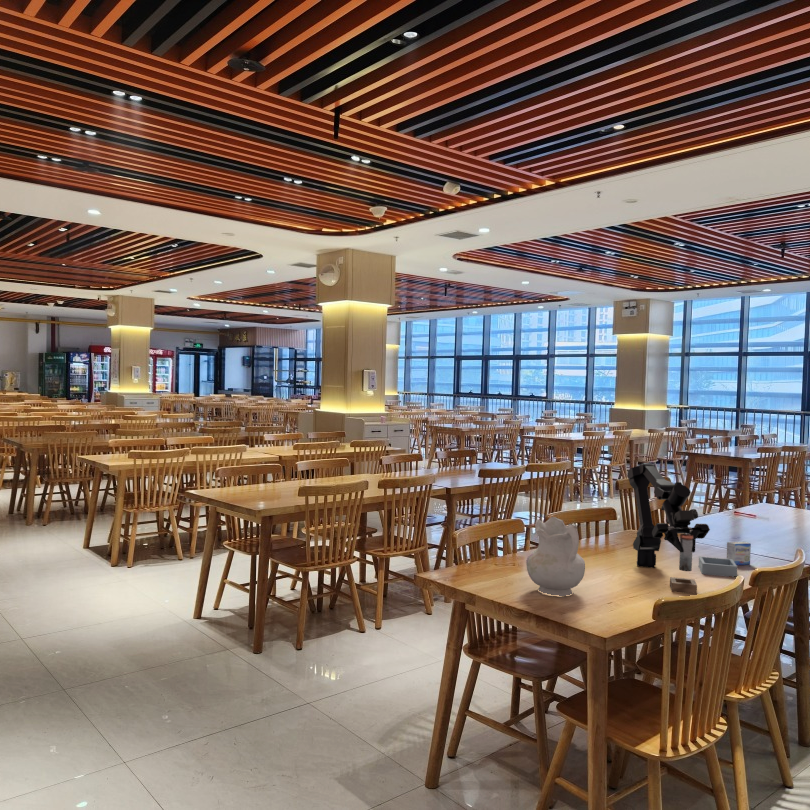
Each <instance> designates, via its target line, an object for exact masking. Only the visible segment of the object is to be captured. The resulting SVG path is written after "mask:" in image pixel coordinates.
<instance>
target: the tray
mask: <svg viewBox="0 0 810 810" xmlns="http://www.w3.org/2000/svg"><path fill="white" fill-rule="evenodd" d="M697 565H698V569H699V571H700V572H701V574H702V575H709V576H718V577H720V576H721V577H729V576H732V578H735V577H734V576H737V577H738V565H736V564H735V563H734V561H733V560H732V559H727V558H721V557H711V556H700V555H699V556H698V564H697Z"/></svg>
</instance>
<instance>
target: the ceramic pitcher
mask: <svg viewBox="0 0 810 810" xmlns="http://www.w3.org/2000/svg"><path fill="white" fill-rule="evenodd" d="M564 522H565V521H564V519H560V518H557V517H556V516H551V517H548V519H547V520H546V521H545V522H543V521H542V520H540V519H538V518H537V519H536V521H535V524H534V525H535V532H536V534H537V537H538V546H537V548H536V549H534V551H532V552H531V553H530V554H528V556H527V558H526V559H525V560H526V561H525V563H526V571H527V575H528V576H529V578H530V579H531V581H532V582H533V583H534V584H535V585H537V586H539V587H538V589H537V591H538V590H539V591H541V592H543V593H547V594H551V595H559V596H566V595H570V594H572V592H573V591H572V589H574V588H575V587H577V586H578V585H579V584H580V583H581V582H582V580H583V579H584V576H585V574H586V562H585V560H584V558H583V557H582V556H581V555H580V554H579V553H578V551H579V544H580V543H579V542H580V538H579V533H578V527H577V525H575V524H574V523H572V524H571V523H569V524H568V525H566V524H565V523H564Z"/></svg>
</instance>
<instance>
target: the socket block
mask: <svg viewBox="0 0 810 810" xmlns="http://www.w3.org/2000/svg"><path fill="white" fill-rule="evenodd" d="M669 588H670V590H671V592H672V593H679V594H681V593H682V594H691V595H698V584H697V582H696V580H695V579H694V578H684V577H683V578H682V577H672V576H670V577H669Z"/></svg>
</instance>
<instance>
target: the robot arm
mask: <svg viewBox="0 0 810 810" xmlns="http://www.w3.org/2000/svg"><path fill="white" fill-rule="evenodd" d="M626 477H627V478H628V481H629V485H630V486H631V488H632V489H633V490H634V494H635V500H636V507H637V513H638V521H639V527H638V530H637V531H636V537H635V539H634V540H633V543H632V548H633V550H635V551H636V552H637V555H636V557H637V559H636V567H638V568H639V567H640V568H641V567H643V568H651V569H655V567H656V565H657V554H656V553H655V552H659V551H660V549H661V544H662V543H661V542H662V538H663V539H664V540H665V541H667V542H669V543H670V544H671V545H673V547H674V548H676V550H678V551H679V553H680V552H683V549H682V546H681V543H680V537H679V535H678V534H689V535H693V548H692V554H693V553H695V552H696V540H697V539H699V540H700V539H704V538H706V537H707V534H708V533H709V532H710V530H711V529H710V527H709V525H708V524H707V523H695V525H694V526H693V527H690V525H691V522H692V521H694V520H696V519H698V518H699V514H698V510H697V509H695V508H693V509H692V508H691V509H689V510H688V509H687V510H683V509H682V506H684V505H685V503H686V501H687V500H688V498H689V497H690V495H691V490H690V489H689V488H688V486H687V485H684V484H682V482H681V481H679V482H678V481H676V482H675V483H673V482H672V481H669V480H666V479H665V477H664V476H662V474H661V473H660V471H658V469H657V468H656V466H655V464H654V463H641V464H639V465H637V466H633V467H630V469H629V470H627V475H626ZM650 484H651V485H652V487H653V488H654V491H653V493H654V496H655V497H656V499H657V500H659V501H660V500H664V501H663V502H662V506H661V507H660V509H661V511H664V512H665V513H664V514H665V516H666V520H665V522H664V523H663V522H661V523H660V522H659V523H658V522H657V523H656V524H655V525H654V523H653V518H652V509H651V503H650V496H649V490H648V488H649V486H650Z"/></svg>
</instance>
